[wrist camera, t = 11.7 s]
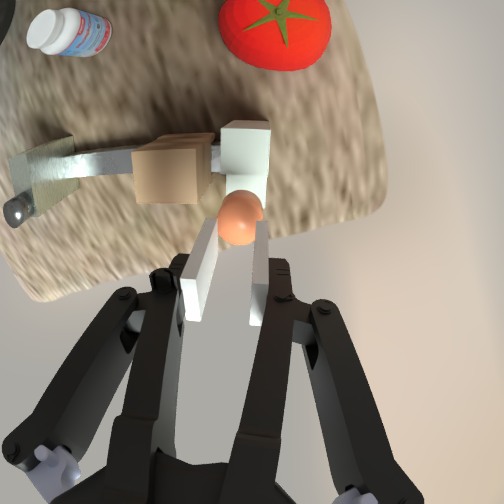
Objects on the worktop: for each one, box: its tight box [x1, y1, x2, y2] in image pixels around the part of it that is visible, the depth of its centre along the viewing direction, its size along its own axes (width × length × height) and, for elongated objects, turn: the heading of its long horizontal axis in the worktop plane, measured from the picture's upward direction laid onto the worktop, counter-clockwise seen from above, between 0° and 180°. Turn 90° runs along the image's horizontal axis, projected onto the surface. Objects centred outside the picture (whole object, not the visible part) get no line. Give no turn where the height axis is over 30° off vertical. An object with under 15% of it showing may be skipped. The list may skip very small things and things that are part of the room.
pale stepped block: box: [221, 120, 271, 208], centre depth 27 cm, size 4×9×10 cm, turn 178°
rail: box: [3, 136, 221, 228], centre depth 26 cm, size 27×8×13 cm, turn 88°
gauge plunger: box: [217, 190, 263, 245], centre depth 22 cm, size 3×3×5 cm
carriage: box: [131, 133, 215, 204], centre depth 27 cm, size 6×5×10 cm
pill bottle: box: [27, 8, 112, 57], centre depth 17 cm, size 6×6×11 cm
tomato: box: [218, 0, 332, 71], centre depth 19 cm, size 10×11×11 cm
